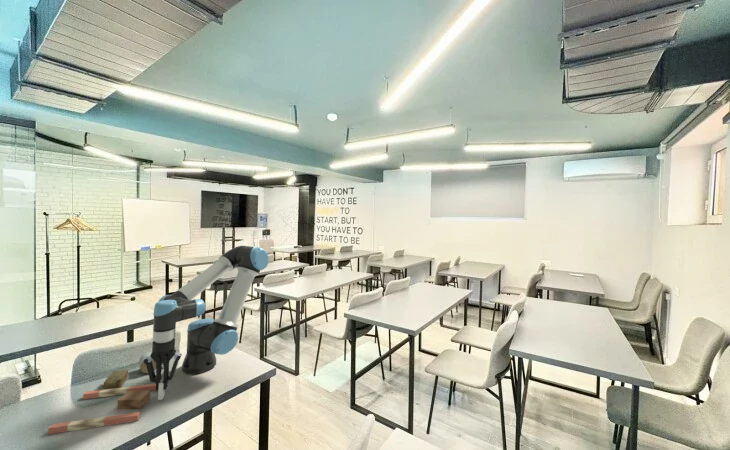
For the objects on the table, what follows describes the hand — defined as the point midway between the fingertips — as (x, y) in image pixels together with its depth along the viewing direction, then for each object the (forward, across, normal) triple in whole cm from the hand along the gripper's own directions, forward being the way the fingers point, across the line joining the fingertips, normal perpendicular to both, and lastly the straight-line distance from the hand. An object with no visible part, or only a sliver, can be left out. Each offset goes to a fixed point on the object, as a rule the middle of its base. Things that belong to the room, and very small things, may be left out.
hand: (161, 397), depth 117 cm
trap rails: (+2, +17, 0) cm, 17 cm away
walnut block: (+2, +9, 0) cm, 9 cm away
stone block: (+2, +22, -17) cm, 28 cm away
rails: (+2, +19, 0) cm, 19 cm away
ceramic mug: (+2, +12, -30) cm, 32 cm away
